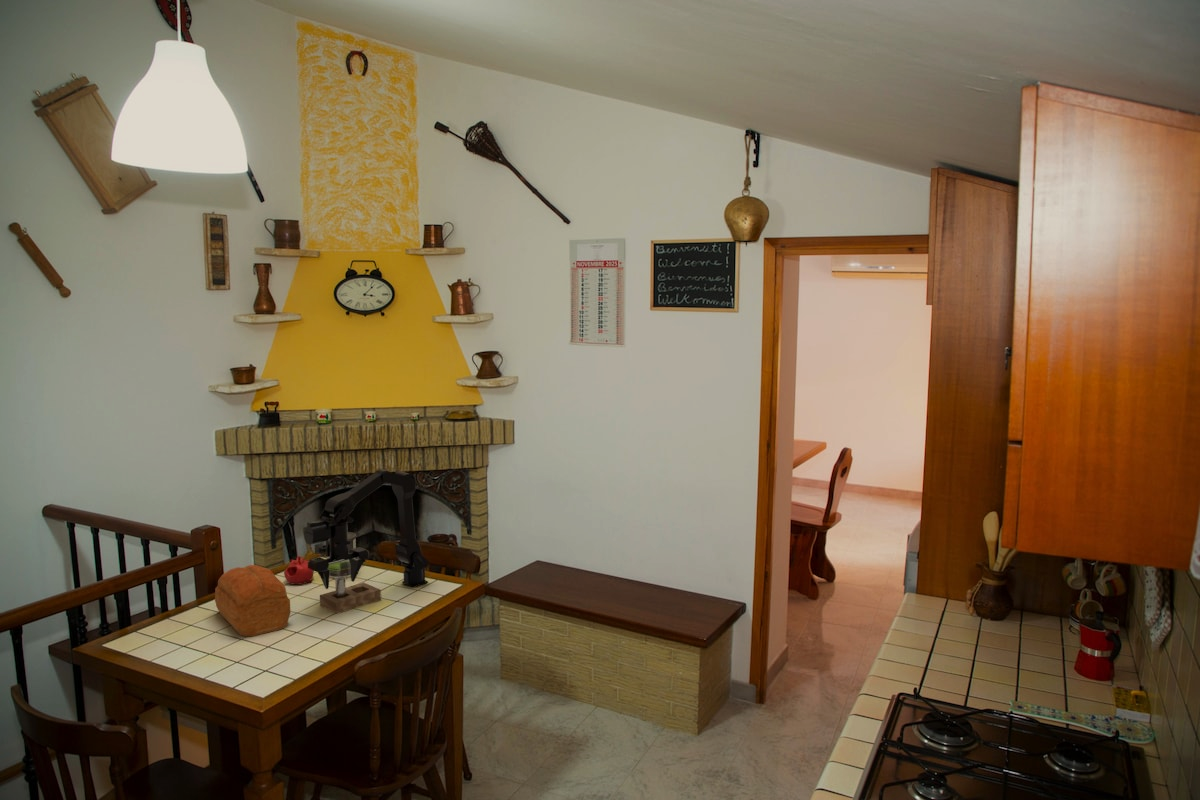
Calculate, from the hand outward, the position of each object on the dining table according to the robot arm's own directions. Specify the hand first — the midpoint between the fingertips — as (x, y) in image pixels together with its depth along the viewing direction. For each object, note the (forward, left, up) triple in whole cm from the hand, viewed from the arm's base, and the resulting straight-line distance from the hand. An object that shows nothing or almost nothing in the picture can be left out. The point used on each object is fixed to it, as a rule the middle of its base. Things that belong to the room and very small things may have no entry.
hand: (339, 585), depth 261 cm
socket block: (-4, 0, -7) cm, 8 cm away
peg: (0, 0, -7) cm, 7 cm away
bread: (+24, -10, -7) cm, 27 cm away
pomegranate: (-3, -31, -7) cm, 32 cm away
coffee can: (-17, -27, -7) cm, 33 cm away
